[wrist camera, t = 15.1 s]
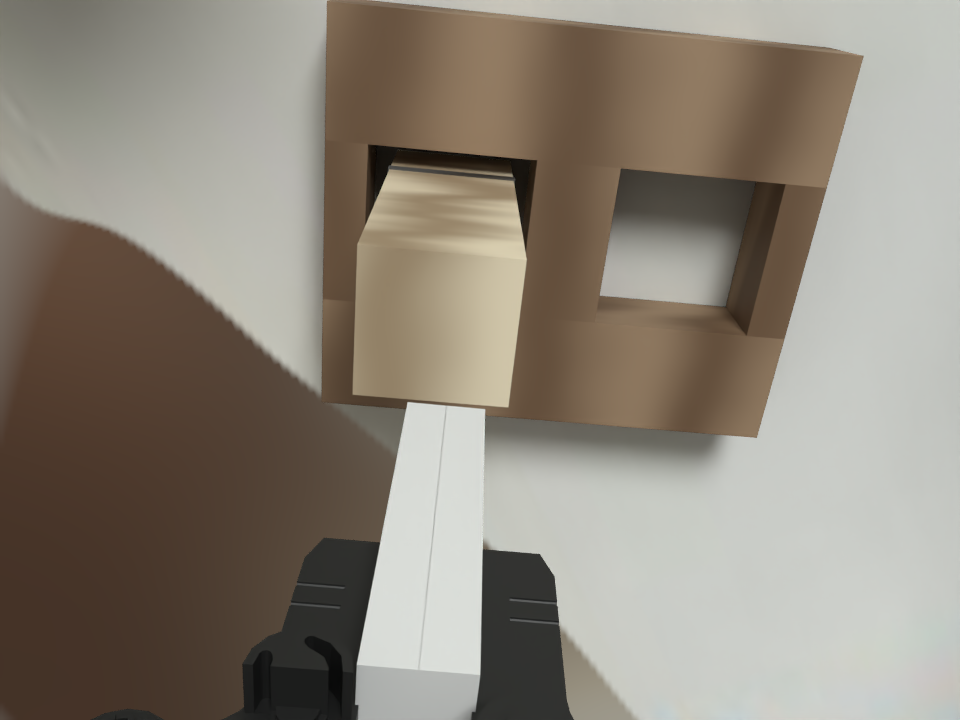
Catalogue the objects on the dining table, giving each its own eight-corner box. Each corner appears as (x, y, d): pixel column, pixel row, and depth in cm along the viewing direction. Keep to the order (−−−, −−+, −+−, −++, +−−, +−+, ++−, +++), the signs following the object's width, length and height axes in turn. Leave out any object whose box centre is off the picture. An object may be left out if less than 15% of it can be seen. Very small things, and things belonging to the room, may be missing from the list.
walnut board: (829, 47, 30) (863, 56, 28) (736, 402, 37) (756, 437, 34) (340, -3, 30) (326, 1, 27) (333, 369, 36) (321, 401, 33)
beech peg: (511, 159, 32) (528, 258, 21) (499, 268, 34) (509, 409, 23) (396, 148, 32) (355, 242, 21) (391, 258, 34) (350, 396, 23)
